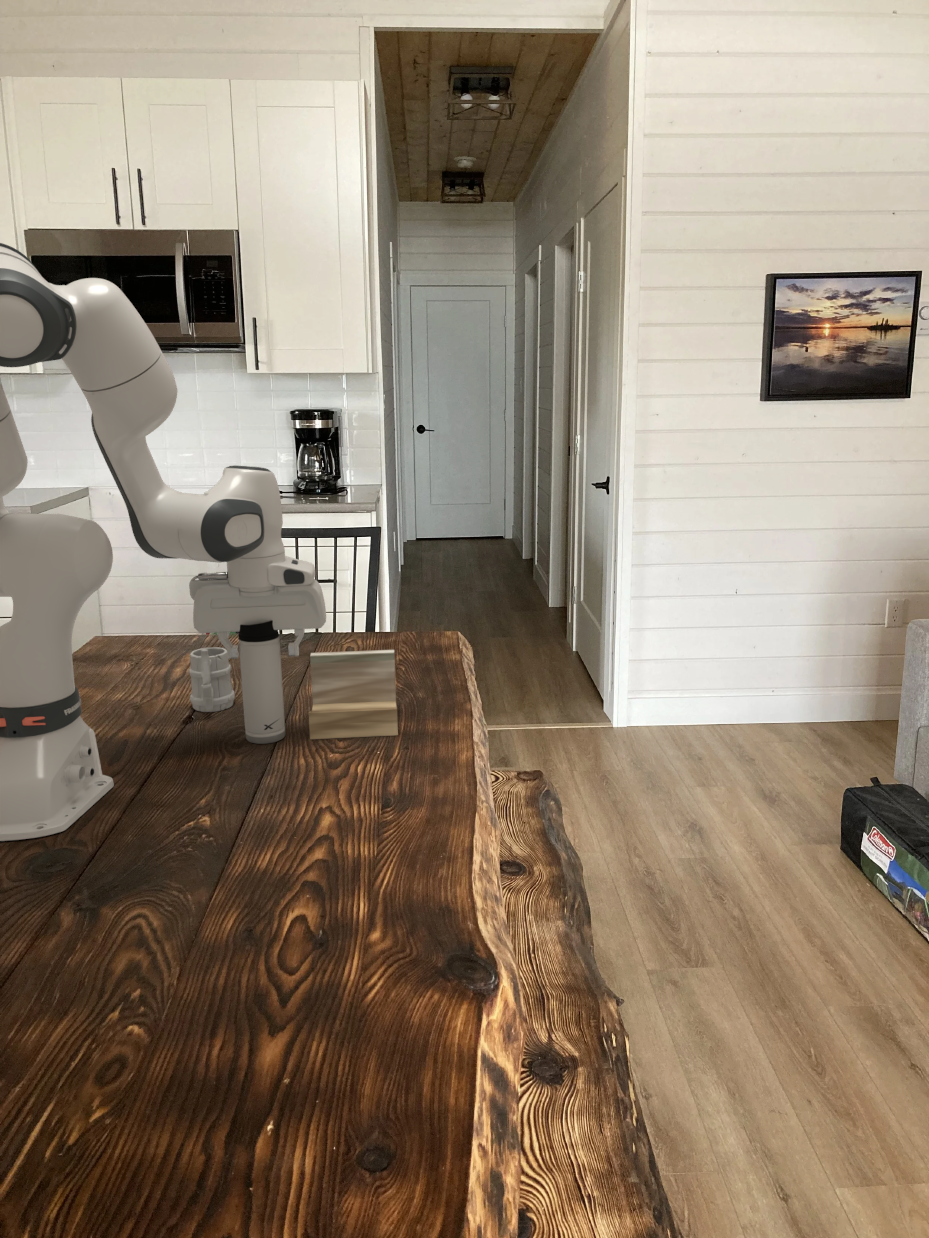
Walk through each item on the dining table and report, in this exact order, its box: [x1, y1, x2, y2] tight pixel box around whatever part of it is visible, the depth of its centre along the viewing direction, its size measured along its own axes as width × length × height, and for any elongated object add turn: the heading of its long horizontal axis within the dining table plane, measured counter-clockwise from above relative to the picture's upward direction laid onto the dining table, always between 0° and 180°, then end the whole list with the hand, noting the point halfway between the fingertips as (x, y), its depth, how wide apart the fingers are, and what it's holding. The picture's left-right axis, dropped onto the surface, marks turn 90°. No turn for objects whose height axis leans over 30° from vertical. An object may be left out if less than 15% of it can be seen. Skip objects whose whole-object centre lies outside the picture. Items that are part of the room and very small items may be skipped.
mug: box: [188, 646, 236, 713], centre depth 164 cm, size 8×12×12 cm, turn 9°
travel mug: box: [237, 621, 286, 745], centre depth 149 cm, size 6×7×20 cm
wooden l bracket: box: [308, 649, 399, 740], centre depth 156 cm, size 12×14×11 cm
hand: (263, 656), depth 149 cm, fingers open, 8 cm apart
